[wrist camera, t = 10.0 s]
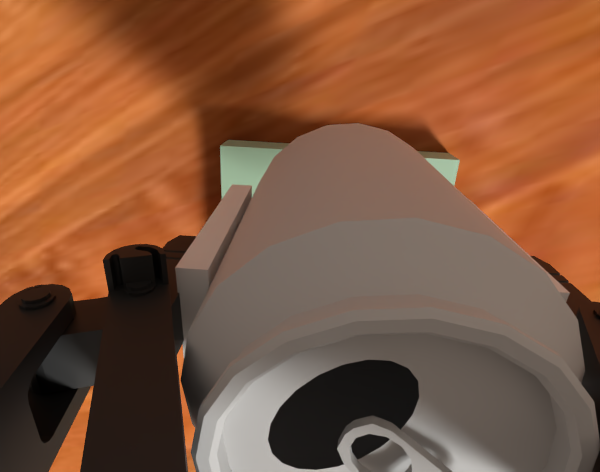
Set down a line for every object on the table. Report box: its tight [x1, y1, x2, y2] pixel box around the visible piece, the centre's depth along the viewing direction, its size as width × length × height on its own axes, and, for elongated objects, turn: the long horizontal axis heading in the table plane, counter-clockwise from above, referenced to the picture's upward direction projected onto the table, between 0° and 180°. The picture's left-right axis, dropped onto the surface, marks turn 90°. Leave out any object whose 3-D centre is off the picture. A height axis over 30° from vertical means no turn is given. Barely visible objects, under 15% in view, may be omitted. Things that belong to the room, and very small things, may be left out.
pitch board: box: [220, 140, 460, 199], centre depth 24 cm, size 13×12×2 cm
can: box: [181, 123, 600, 472], centre depth 11 cm, size 8×8×12 cm
